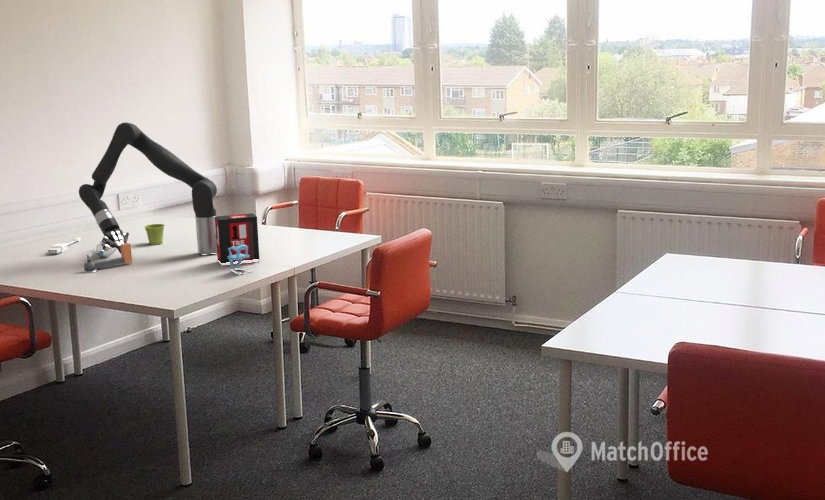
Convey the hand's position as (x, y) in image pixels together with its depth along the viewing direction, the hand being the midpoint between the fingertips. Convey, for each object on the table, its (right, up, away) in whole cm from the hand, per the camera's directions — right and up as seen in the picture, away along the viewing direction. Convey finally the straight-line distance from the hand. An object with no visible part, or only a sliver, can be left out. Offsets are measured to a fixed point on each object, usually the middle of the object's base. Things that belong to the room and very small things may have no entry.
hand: (124, 253), depth 389 cm
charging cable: (-38, +2, +34) cm, 51 cm away
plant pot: (+3, +4, +39) cm, 39 cm away
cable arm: (-5, -5, -6) cm, 10 cm away
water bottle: (-16, +6, +31) cm, 36 cm away
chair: (+54, -8, -18) cm, 57 cm away
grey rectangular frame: (-10, -6, -5) cm, 12 cm away
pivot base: (-11, -7, -11) cm, 17 cm away
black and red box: (+50, -4, 0) cm, 50 cm away
